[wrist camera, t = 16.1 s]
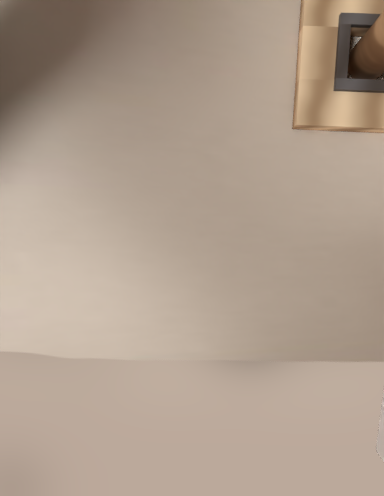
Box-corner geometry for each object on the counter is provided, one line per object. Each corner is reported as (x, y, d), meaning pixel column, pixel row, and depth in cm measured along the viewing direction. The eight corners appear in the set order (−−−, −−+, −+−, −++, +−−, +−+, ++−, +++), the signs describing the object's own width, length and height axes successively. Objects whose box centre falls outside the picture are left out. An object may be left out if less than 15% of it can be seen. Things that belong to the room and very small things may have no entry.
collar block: (292, 128, 42) (297, 123, 40) (301, -12, 41) (307, -26, 39) (428, 134, 42) (442, 129, 39) (441, -7, 41) (456, -22, 38)
